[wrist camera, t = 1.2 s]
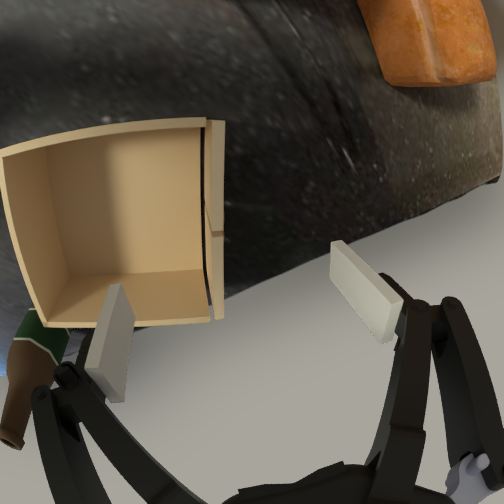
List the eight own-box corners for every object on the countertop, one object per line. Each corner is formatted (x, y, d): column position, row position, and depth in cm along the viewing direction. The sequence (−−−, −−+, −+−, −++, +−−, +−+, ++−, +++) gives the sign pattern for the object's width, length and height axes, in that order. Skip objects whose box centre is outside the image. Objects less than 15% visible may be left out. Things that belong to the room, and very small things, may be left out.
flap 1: (204, 199, 33) (211, 231, 24) (205, 119, 28) (212, 120, 20) (215, 198, 33) (226, 230, 25) (216, 119, 28) (228, 120, 20)
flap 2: (206, 272, 37) (214, 319, 29) (204, 204, 33) (212, 237, 25) (216, 271, 37) (226, 318, 29) (215, 203, 33) (226, 236, 25)
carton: (67, 280, 33) (44, 327, 25) (41, 137, 24) (-4, 150, 15) (202, 272, 38) (210, 321, 29) (200, 117, 28) (206, 117, 20)
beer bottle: (27, 299, 33) (-29, 424, 12) (55, 280, 33) (-8, 421, 12) (57, 333, 37) (22, 460, 16) (86, 317, 37) (53, 461, 16)
